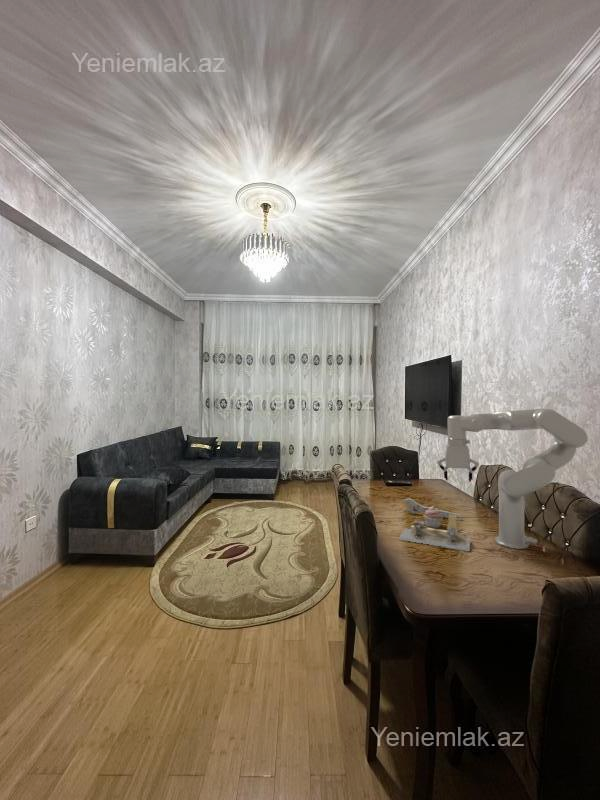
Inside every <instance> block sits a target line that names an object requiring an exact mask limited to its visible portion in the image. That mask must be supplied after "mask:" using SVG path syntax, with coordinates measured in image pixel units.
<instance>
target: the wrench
mask: <svg viewBox="0 0 600 800" xmlns="http://www.w3.org/2000/svg"><path fill="white" fill-rule="evenodd" d="M402 503H403V504H406V503H408V504H409V505H410V507H404V510H405V511H407V512H408V513H411V514H412V515H416V514H417V513H425V512H426V510H428V509H429V508H430V507H429V506H424V505H422V504H420V503H418V502H416V501H415V500H414V499H412V498H405V499H404V500H403V502H402ZM438 510H439V512H440V513H441V516H442V517H443V518H447V519H449V514H452V515H456V521H462V520H463V516H462V515H461V514H460V513H456V512H450V511H446V510H441V509H438ZM458 516H459V517H460V518H457V517H458Z"/></svg>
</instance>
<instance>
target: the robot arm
mask: <svg viewBox="0 0 600 800" xmlns="http://www.w3.org/2000/svg"><path fill="white" fill-rule="evenodd" d="M487 430H500V431H526V430H527V431H528V430H544V431H545V432H546V433H548V434H550V435H551V436H552V437H554V439H553V443H552V445H551V446H550V447H548V448H547V449H546V450H544V451H542V452H541V453H539V454H537V455H535V456H533V457H531V458H529V459H527V460H525V461H524V463H523V464H522V469H520V470H518V471H516V470H515V469H514V470H513V469H506V470H504V471H502V472H500V474H499V476H498V477H497V479H498V480H497V486H498V487H497V488H498V535H497V536H495V537H494V542H495V543H496V544H497V545H499V546H502V547H505V548H508V547H509V549H514V548H515V549H514V550H523V549H524V550H525V549H528V548H529V545H530V544H534V545H538V539H537V538H534V537H531V536H526V534H525V497H526V496H528V495H530V494H532V493H534V492H536V491H538V490H540V489H543V488H544V487H545V486H548V485H549V484H550V483H551V482H552V481H553V480H554V478H555V476H556V471H558V470H559V469H561V468H562V467H564V466H566V465H567V464H569V463H570V462H571V461H572V460H573V459H574V457H575V454H576V452H577V449H578V448H582V447H584V446H585V445H586V444H587V442H588V439H589V437H588V433H587V432H586V431H585V430H584V429H583V428H582V427H580V426H579V425H578V424H576V423H574V422H573V421H571V420H570V419H568V418H567V417H565V416H564V415H562V414H560V413H559V412H557V411H555V410H554V409H550V408H533V409H521V410H507V411H499V412H490V413H475V414H470V415H465V416H464V415H449V416H448V417H447V440H448V441H447V445H446V446H445V457H444V458H442V459H439V460H437V462H436V463H437V465H438V466H439V468H440V469H441V470H442V471H443V479H445V481H446V482H447V481H448V480H449V479H448V478H449V477H448V470H449V469H451V468H452V469H467V471H468V482H470V483H471V482H472V480H473V473H474V472H475V471H476V470H477V468H478V467H479V464H480V462H478V461H476V460H474V459H473V458H470V455H471V454H470V450H469V446H468V445H467V444H471V443H470V440H468V439H467V433H466V432H471V433H472V432H473V433H478V432H479V433H480V432H482V431H487ZM442 463H445V466H444V465H443V464H442ZM471 463H472V464H474V465H473V467H471Z"/></svg>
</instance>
